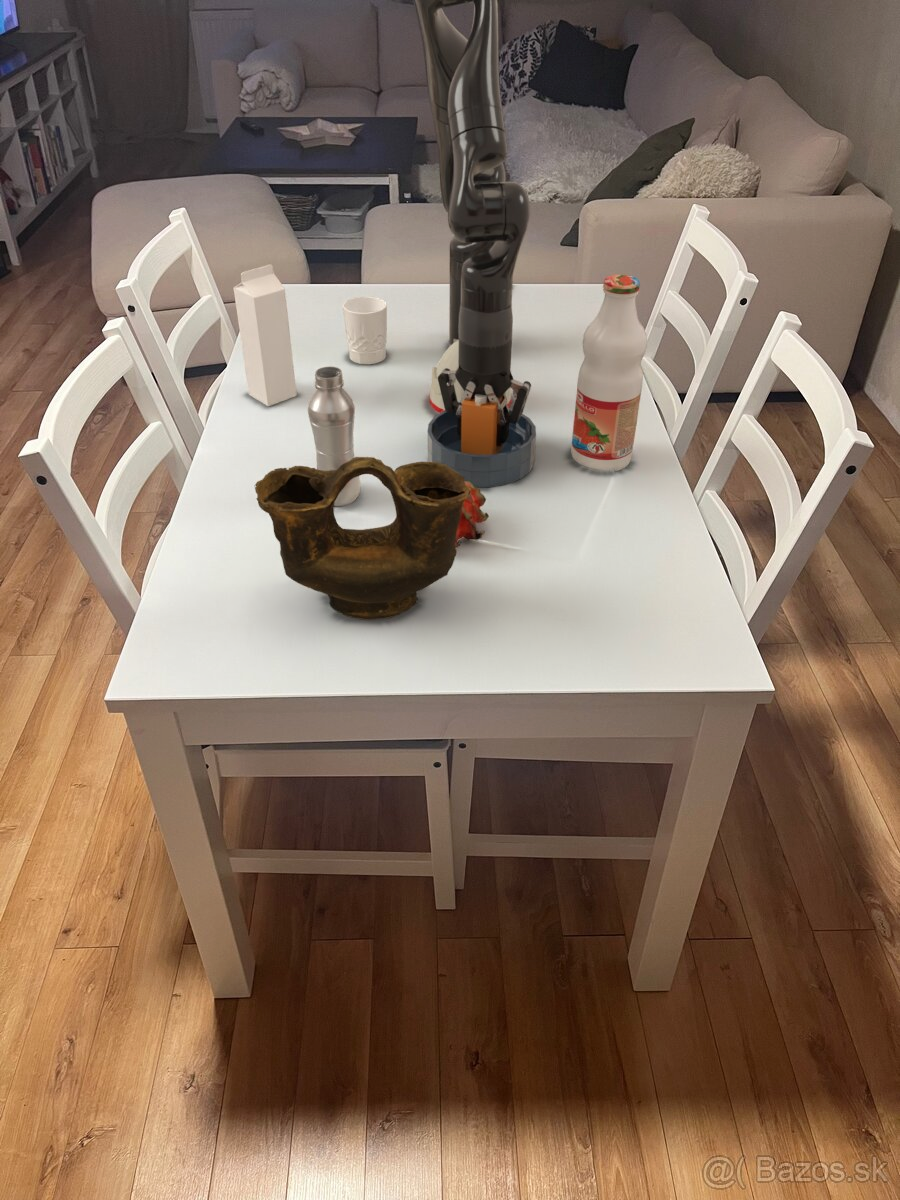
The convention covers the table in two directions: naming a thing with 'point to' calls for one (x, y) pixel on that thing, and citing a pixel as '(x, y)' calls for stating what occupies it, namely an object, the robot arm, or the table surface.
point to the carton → (479, 426)
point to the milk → (265, 336)
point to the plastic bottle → (333, 427)
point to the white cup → (366, 329)
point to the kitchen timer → (451, 363)
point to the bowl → (478, 467)
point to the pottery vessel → (366, 533)
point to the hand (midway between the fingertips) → (482, 440)
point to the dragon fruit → (471, 515)
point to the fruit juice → (610, 380)
